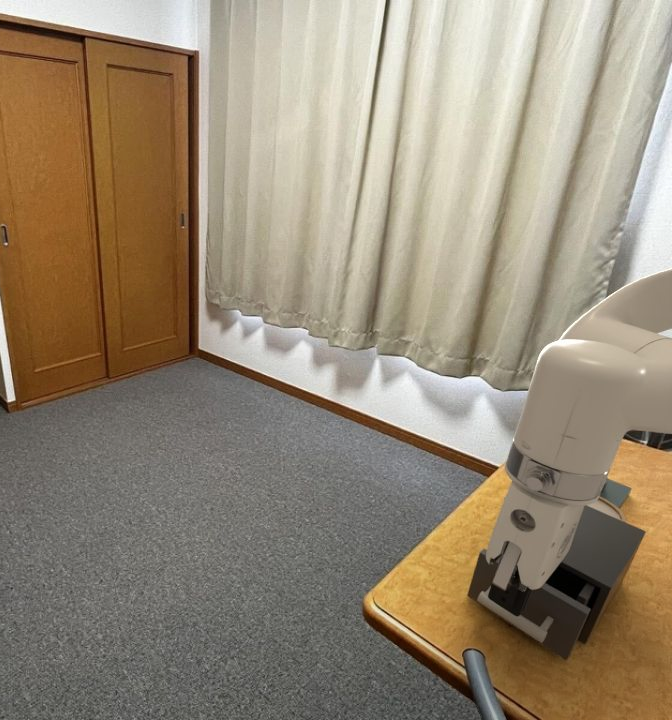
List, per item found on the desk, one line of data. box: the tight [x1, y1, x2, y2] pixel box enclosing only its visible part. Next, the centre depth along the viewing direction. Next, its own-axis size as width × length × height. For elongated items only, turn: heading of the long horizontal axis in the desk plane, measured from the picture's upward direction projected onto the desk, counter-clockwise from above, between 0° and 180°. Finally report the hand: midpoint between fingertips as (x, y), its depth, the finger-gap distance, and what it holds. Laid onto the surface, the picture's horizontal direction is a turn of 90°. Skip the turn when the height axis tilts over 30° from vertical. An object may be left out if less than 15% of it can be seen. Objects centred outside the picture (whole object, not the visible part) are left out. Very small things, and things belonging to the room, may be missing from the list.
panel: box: [599, 477, 633, 509], centre depth 84 cm, size 12×9×4 cm
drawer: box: [466, 548, 601, 662], centre depth 61 cm, size 17×11×8 cm, turn 127°
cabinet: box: [558, 505, 647, 645], centre depth 65 cm, size 15×13×10 cm
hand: (505, 603), depth 53 cm, fingers closed
